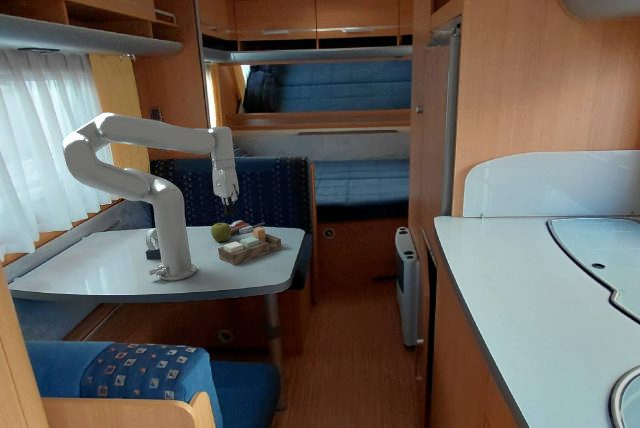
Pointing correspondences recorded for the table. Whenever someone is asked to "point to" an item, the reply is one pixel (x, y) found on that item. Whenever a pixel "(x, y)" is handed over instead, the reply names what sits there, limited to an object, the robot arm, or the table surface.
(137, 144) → the robot arm
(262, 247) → the brown wooden tray
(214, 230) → the apple
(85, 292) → the table surface
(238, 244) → the button
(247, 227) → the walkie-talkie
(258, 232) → the slider
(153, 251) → the white sculpture
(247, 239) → the button
